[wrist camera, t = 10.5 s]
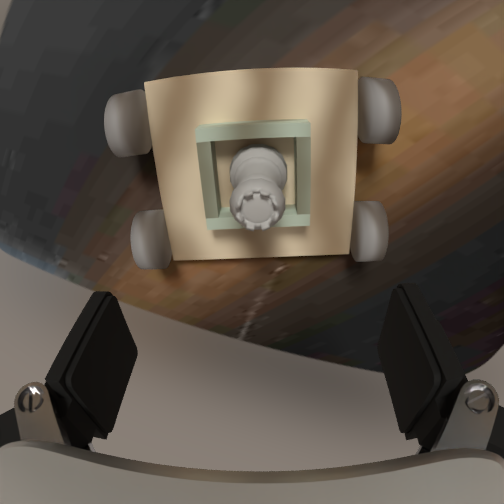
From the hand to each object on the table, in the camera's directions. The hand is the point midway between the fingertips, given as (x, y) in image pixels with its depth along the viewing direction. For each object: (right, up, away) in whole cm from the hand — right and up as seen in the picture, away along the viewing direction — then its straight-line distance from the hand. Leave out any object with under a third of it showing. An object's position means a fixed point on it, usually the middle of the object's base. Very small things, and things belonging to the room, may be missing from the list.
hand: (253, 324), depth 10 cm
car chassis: (0, +9, +15) cm, 18 cm away
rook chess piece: (0, +9, +14) cm, 17 cm away
